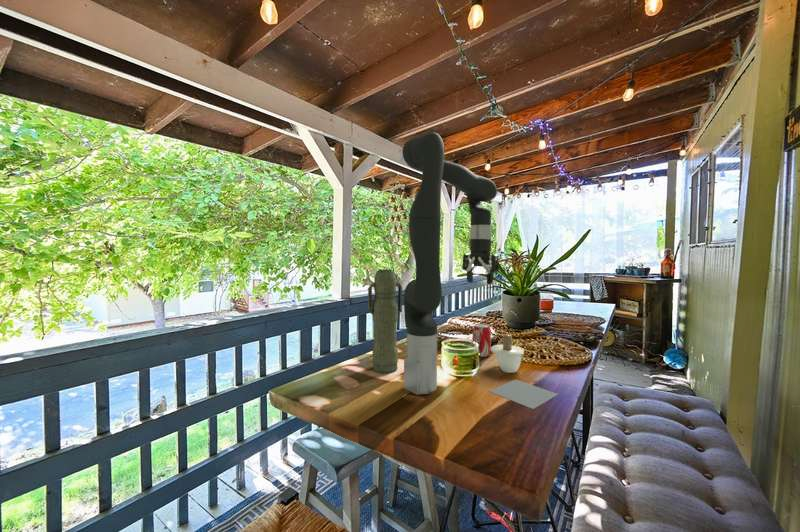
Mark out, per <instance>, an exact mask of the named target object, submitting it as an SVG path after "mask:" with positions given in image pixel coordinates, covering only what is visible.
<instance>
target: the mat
mask: <svg viewBox="0 0 800 532" xmlns="http://www.w3.org/2000/svg"><path fill="white" fill-rule="evenodd" d="M488 392H489V393H491V394H494V395H497V396H499V397H501V398H504V399H507V400H509V401H512V402H514V403H517V404H520V405H522V406H524V407H527V408H529V409H532V410H534V409H536V408H537V407H539V406H541V405H543V404H545V403H546V402H548V401H550V400H551V399H554V398H556V396H559V393H556V392H553V391H550V390H547V389H545V388H541V387H539V386H535V385H533V384H530V383H527V382H524V381H521V380H519V379H512V380H511V381H510V380H509V382H505V383H504V384H502V385H499V386H496V387H495V388H493V389H491V390H488Z"/></svg>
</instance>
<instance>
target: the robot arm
mask: <svg viewBox="0 0 800 532" xmlns="http://www.w3.org/2000/svg"><path fill="white" fill-rule="evenodd" d="M402 158H403V160H404V162H405V163H406V164H407V166H408V167H410V168H412V169H413V170H415V171H418V172H421V173H422V176H421V183H420V185H419V189H418V191H417V194H416V195H415V198H414V200H413V202H412V204H411V205H410V206H411V207H410V209H409V214H408V235H409V237H408V238H409V242H410V245H411V249H412V253H413V256H414V260H415V279H412V280H411V281H409V282H408V283H407V285H406V287H405V290H404V294H403V296H404V297H403V310H404V311H403V312H404V314H403V315H404V323H405V326H406V357H404V358H403V389H404V390H406V391H408V392H410V393H412V394H414V395H416V396H418V395H429V394H432V393H433V392H434V391H435V390H437V387H438V385H437V383H438V381H437V380H438V324H437V321H436V320H435V318H434V315H433V312H435V311H436V310H437V309H438V308H439V306H440V305H441V302H442V297H443V296H442V295H443V291H442V279H441V268H440V267H441V266H440V263H441V262H440V260H441V259H440V258H441V256H440V255H441V224H442V223H441V220H442V219H441V218H442V217H441V200H442V199H441V198H442V182H445V183H446V184H449V185H451V186H452V187H454V188H456V189H457V190H459V191H460V192H462V193H465V194H466V195H465V196H466V200H467V203H468V207H469V212H470V229H469V251H470V253H463V255H462V266H461V268H462V270H464V271H465V272H466V281H467V282H468V283H473V282H474V281H473V280H474V272H473V271H474V269H476V268H477V267H483V269H484V270H485V272H486V273H487V274H486V285H492V284H493V283H494V274H495V273H498V272H499V271H500V268H499V263H500V262H499V255H498V254H491V251H492V212H491V209H489V208H486V207H485V208H484V207H482V204H481V203H483V202H489V201H493V200H494V199H495V198H496V197H497V194H498V189H497V186H496V184H495V182H494V181H493V180H491V179H490V178H487V177H484V176H482V175H478V174H475V173H474V172H472V171H471V170H470V169H469V168H467V167H465V166H464V165H462V164H459V163H455V162H452V161H448V160H445V145H444V141H443V138H442V137H441V135H440V134H439V133H437V132H435V131H432V132H426V133H424V134H421V135H420V134H419V135H417V136H414V137H412V138H409V139H408V140H407V141H406V142H404V145H403V147H402Z"/></svg>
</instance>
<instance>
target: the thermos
mask: <svg viewBox="0 0 800 532" xmlns="http://www.w3.org/2000/svg"><path fill="white" fill-rule="evenodd" d="M373 287H374V288H373ZM397 288H398V295H397V296H398V298H397V296H396V293H397ZM373 292H374V297H373V295H372V294H373ZM372 297H373V298H372ZM373 299H374V300H373ZM397 299H398V302H397ZM372 301H373V302H372ZM367 302H368V303H367V305H368V306H367V307H368V308H367V311H368V312H369V313H370V314H371V316H372V321H373V349H372V364H373V365H372V370H373V372H375V373H378V374H392V373H395V372H397V371H398V362H399V350H398V347H397V322H398V319H399V314H400V313H402V310H403V286H402V285H401V283H399V282H397V277H396V275H395V271H394V270H392V269H378V270H376V272H375V275H374V279H373V283H370V285H369V286H368V288H367Z"/></svg>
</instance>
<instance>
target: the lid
mask: <svg viewBox="0 0 800 532" xmlns="http://www.w3.org/2000/svg"><path fill="white" fill-rule="evenodd" d="M490 353H493V354H494V355H496V354H497V355H501V356H507V357H517V356H521V357H522V356H523V355H524V354H525V350H524V349H523V348H521V347H520V346H519V347H518V346H515V345H513V335H512V334H510V333H503V334H502V344H495V345H492V346H491V351H490Z"/></svg>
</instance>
